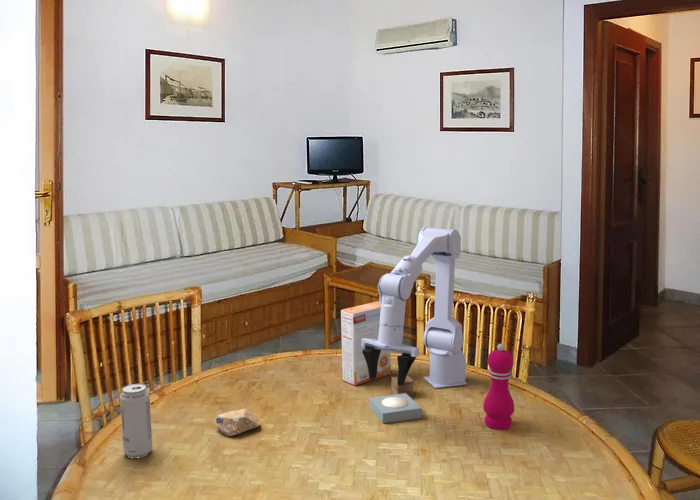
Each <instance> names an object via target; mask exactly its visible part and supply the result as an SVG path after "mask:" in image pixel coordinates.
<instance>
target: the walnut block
mask: <svg viewBox="0 0 700 500" xmlns="http://www.w3.org/2000/svg"><path fill="white" fill-rule="evenodd" d="M397 380H398V376H391V380H390V381H391V383H390V384H391V385H390V386H391V387H390V388H391V390H390V391H391V393H390V394H391V395H396V394H404V393H406V394H407V395H408V396H409V397H410V398H411V399H412V398H414V390H415V389H414V385H415V383H414V382H415V381H414V380H413V379H412V378H411V377H410V376H408V375H407V376H406V379H405V383H404V385H401V386H399V385H397Z"/></svg>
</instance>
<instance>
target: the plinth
mask: <svg viewBox="0 0 700 500" xmlns="http://www.w3.org/2000/svg"><path fill="white" fill-rule="evenodd" d="M368 404H369V405H368V407H369V409H370V410H371V411H372V412H373V414H374V415H375V416H376V417H377V418H378V420H379V421H380V422H381V423H382V424H386V423H394V422H402V421H408V420H409V421H410V420H416V419H421V418H422V407H421V406H420V405H419V404H418V403H417V402H416V401H415V400H414V399H412V397H411V398H410V397H409V396H408V395H407V394H406V393H404V394H396V395H393V394H389V395H381V396H375V397H369V398H368Z"/></svg>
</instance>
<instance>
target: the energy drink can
mask: <svg viewBox="0 0 700 500" xmlns="http://www.w3.org/2000/svg"><path fill="white" fill-rule="evenodd" d="M150 397H151V396H150V392H149V391H148V390H147V386H146V385H145V384H142V383H134V384H133V383H132V384H128V385H125V386H124V387H122V391H121V394H120V396H119V403H120V419H121V431H122V446H123V447H122V448H123V454H125V455H126V454H127V455H126V457H127V456H129V457H133V458H137V457H142V458H144V457H143V456H145V455H147V454H148V453H149V452H150V453H151V450H152V449H153V434H152V433H153V432H152V419H151V418H152V417H151V416H152V414H151V399H150ZM150 453H149V454H150ZM149 454H148V455H149ZM148 455H147V456H148ZM129 457H128V458H129ZM145 457H146V456H145ZM133 458H132V459H133ZM137 459H138V458H137Z"/></svg>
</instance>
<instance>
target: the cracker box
mask: <svg viewBox="0 0 700 500" xmlns="http://www.w3.org/2000/svg"><path fill="white" fill-rule="evenodd" d="M380 312H381V304H380V302H379V301H373V302H370V303H365V304H361V305H356V306H353V307H347V308H343V309H341V310H340V326H341V327H340V329H341V330H340V333H341V338H340V339H341V372H342V373H341V374H342V375H341V376H342V377H341V378H342V379H341V380H342V381H343V382H345V383H348V384H350V385H353V386H354V387H355V386H359V385H362V384H364V383H368V382H371V381H373V380H376V379H377V380H378V379H379V378H383V377H386V376H389V375H391V374H392V373H391V371H392V367H391V365H392V361H391V360H392V359H391V356H392V354H391V353H392V352H390V351H384V350H381V352H380V356H379V360H378V366H377V375H376V378H375V379H369V372H368V367H367V363H366V360H365V357H364V355H363V353H362V350H363V349H365V347H361V342H362V339H363V338H369V339H376V340H378V335H379V324H380Z"/></svg>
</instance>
